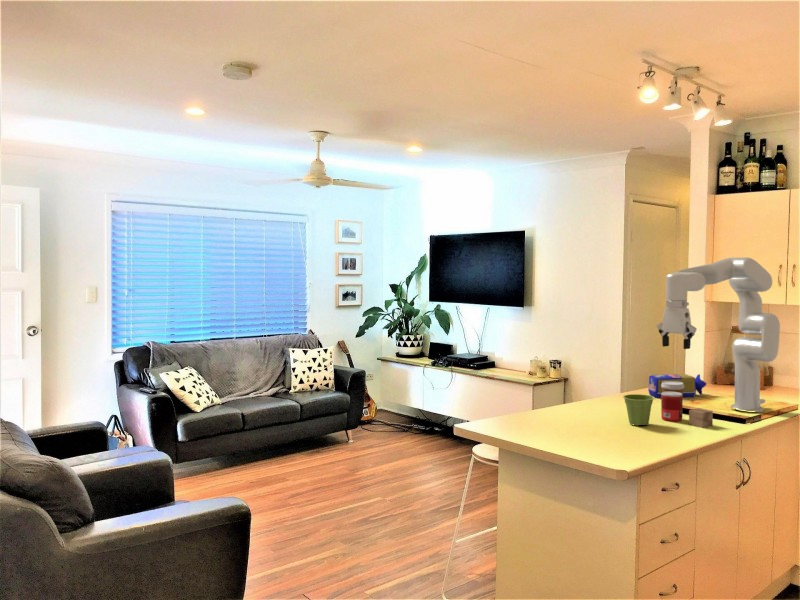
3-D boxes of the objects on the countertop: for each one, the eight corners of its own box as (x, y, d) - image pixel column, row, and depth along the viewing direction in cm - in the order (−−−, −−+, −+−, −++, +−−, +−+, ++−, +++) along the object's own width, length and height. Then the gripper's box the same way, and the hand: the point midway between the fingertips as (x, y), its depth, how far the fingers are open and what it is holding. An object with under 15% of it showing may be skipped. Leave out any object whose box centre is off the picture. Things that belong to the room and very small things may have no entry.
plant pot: (655, 422, 257) (655, 394, 256) (653, 429, 246) (653, 400, 246) (624, 419, 262) (624, 392, 261) (621, 426, 251) (621, 398, 250)
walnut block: (699, 422, 254) (699, 408, 254) (712, 426, 249) (712, 411, 249) (689, 424, 252) (689, 410, 251) (702, 428, 246) (702, 413, 246)
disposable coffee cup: (661, 411, 274) (660, 384, 273) (660, 406, 282) (660, 380, 282) (685, 413, 270) (685, 385, 269) (684, 408, 279) (684, 381, 278)
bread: (646, 394, 308) (646, 373, 308) (695, 393, 310) (695, 372, 309) (655, 399, 298) (655, 377, 298) (706, 397, 299) (706, 375, 299)
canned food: (684, 422, 256) (684, 395, 255) (663, 421, 257) (663, 395, 256) (680, 417, 263) (680, 391, 262) (659, 417, 265) (659, 391, 264)
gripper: (702, 305, 244) (701, 349, 245) (664, 303, 259) (663, 344, 260) (689, 306, 240) (689, 350, 241) (651, 304, 255) (651, 346, 256)
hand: (676, 347), depth 251 cm, fingers open, 9 cm apart
